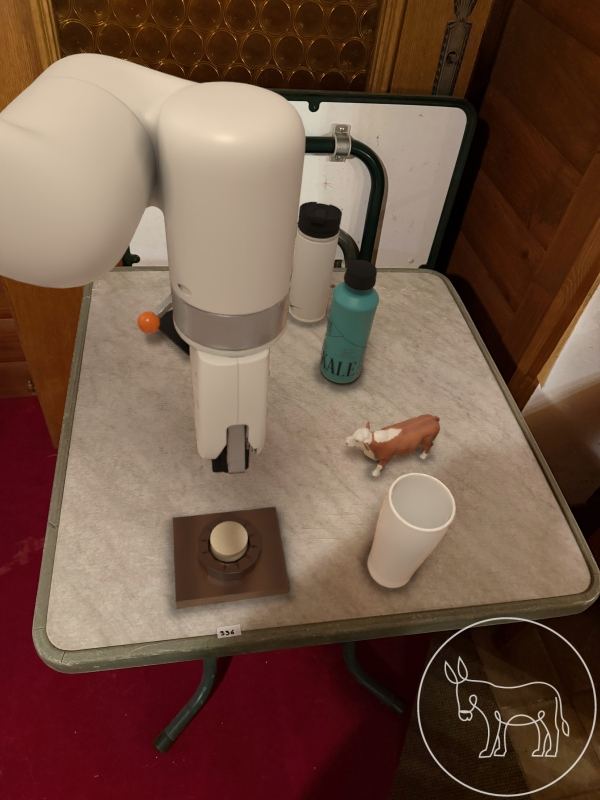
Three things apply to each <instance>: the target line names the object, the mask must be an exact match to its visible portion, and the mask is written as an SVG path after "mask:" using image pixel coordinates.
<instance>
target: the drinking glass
mask: <svg viewBox="0 0 600 800" xmlns="http://www.w3.org/2000/svg"><path fill="white" fill-rule="evenodd" d="M456 510H457V509H456V501H455V498H454V496H453V493H452V491H451V490H450V489H449V487H447V485H445V484H444V483H443V482H442V481H441V480H440V479H438V478H437V477H435V476H432V475H430V474H427V473H422V472H408V473H405V474H402V475H400V476H399V477H397V478H396V479H395V480H393V482H392V483H391V485H390V486H389V489H388V490H387V493H386V495H385V497H384V500H383V502H382V505H381V507H380V510H379V514H378V518H377V523H376V527H375V531H374V536H373V539H372V544H371V547H370V552H369V554H368V557H367V561H366V563H367V570H368V573H369V575H370V577H371V578H372V579H373V580H374V581H375V582H376V583H377V584H378V585H380V586H382V587H385V588H388V589H397V588H401V587H404V586H405V585H406V584H408V582H409V581H410V580H412V579H411V578H412V577H413V575H414V574H415V573H416V572H417V570H418V569H419V568H420V567H421V565H422V564H423V563H424V562H425V561H426V560H427V558H428V557H429V556H430V555H431V554H432V552H434V551H435V549H436V548H437V547H438V545H440V543H441V541H443V539H444V537H445V536H446V534H447V532H448V530H449V528H450V526H451V524H452V522H453V521H454V518H455V516H456Z"/></svg>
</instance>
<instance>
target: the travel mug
mask: <svg viewBox="0 0 600 800" xmlns="http://www.w3.org/2000/svg"><path fill="white" fill-rule="evenodd" d="M342 217H343V212H342V210H341V209H340V208H339V207H338V206H336V205H334V204H331V203H329V204H326V203H322V202H318V201H307V202H304V203H302V204H300V205H299V212H298V222H297V231H296V240H295V250H294V260H293V270H292V279H291V289H290V298H289V308H288V315H289V316H290V317H291V318H292V319H293V320H294V321H297V322H298V323H301V324H307V325H312V324H313V325H314V324H317V323H320V322H321V321H322V320H324V319H325V317H326V314H327V308H328V302H329V296H330V290H331V284H332V280H333V279H332V278H333V273H334V267H335V260H336V255H337V249H338V244H339V243H338V242H339V237H340V229H341V223H342Z"/></svg>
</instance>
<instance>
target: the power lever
mask: <svg viewBox="0 0 600 800" xmlns="http://www.w3.org/2000/svg"><path fill="white" fill-rule="evenodd" d="M172 309H173V307H172V296H171V294H169V295H168V296H167V297H166V298H165V299H164V300H163V301H162V302H161V303H160V304H159V305H158V306H157V307H156V308H155V309H154V310H153V311H150V310H148V311H143V312H141V313H140V315H138V317H137V320H136V322H137V323H136V325H137V327H138V329H139V330H140V331H141V332H142V333H144V334H147V335H148V334H149V335H150V334H155V333H156V332H157V331H159V327H160V318H161V317H162V316H164V315H165V314H166V313H167V312H168V311H170V310H172Z"/></svg>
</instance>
